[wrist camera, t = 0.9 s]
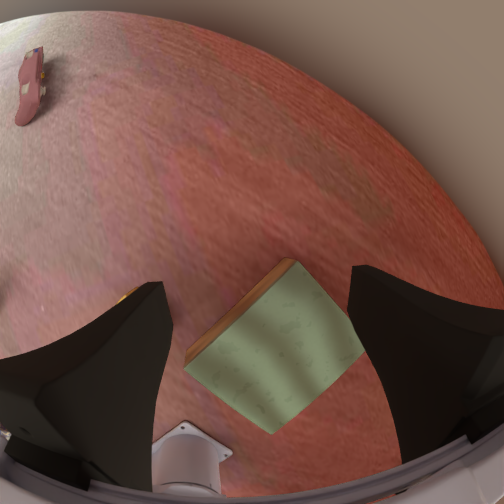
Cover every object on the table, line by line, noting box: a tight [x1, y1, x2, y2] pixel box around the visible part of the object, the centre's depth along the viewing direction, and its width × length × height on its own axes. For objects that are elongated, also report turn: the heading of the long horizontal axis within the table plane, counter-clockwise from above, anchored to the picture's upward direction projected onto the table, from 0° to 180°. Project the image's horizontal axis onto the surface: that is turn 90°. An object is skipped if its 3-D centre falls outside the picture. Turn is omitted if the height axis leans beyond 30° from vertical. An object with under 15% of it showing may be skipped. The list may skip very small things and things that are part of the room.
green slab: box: [184, 257, 365, 435], centre depth 26 cm, size 14×12×4 cm
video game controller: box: [15, 47, 46, 126], centre depth 20 cm, size 10×5×7 cm, turn 17°
